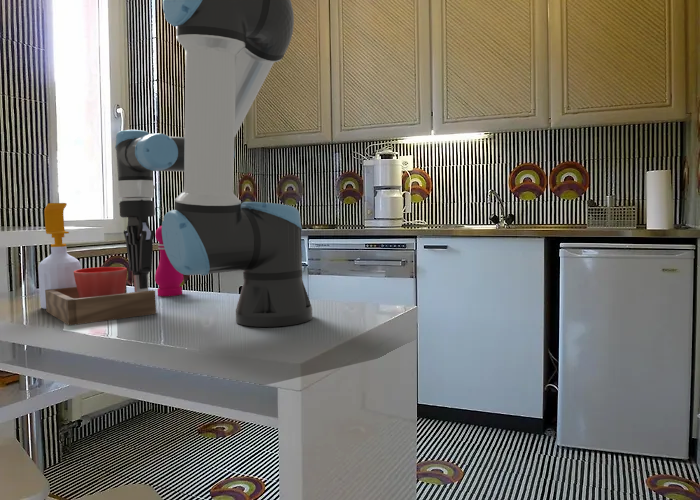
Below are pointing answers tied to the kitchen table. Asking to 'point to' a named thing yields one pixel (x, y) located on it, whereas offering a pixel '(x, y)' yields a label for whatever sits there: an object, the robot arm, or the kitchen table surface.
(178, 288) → the pepper mill
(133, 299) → the tray
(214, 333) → the kitchen table surface
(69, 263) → the soap bottle
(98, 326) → the kitchen table surface
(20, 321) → the kitchen table surface
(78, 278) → the flower pot
